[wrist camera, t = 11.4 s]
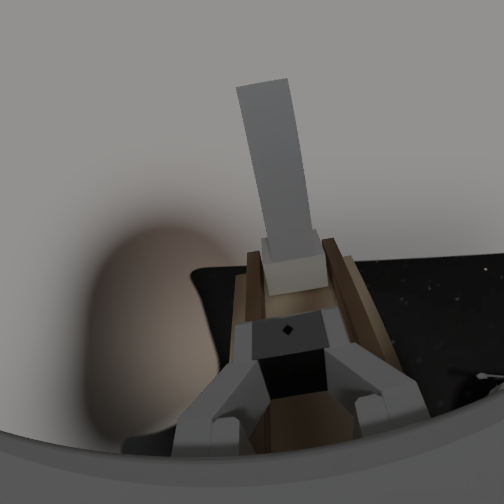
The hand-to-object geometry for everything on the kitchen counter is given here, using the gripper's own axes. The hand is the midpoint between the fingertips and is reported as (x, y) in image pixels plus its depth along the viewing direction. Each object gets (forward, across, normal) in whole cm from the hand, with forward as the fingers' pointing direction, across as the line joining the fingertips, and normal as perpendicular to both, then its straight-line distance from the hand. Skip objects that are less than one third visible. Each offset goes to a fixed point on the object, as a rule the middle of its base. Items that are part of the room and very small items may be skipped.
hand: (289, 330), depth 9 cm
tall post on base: (+14, +1, -8) cm, 16 cm away
